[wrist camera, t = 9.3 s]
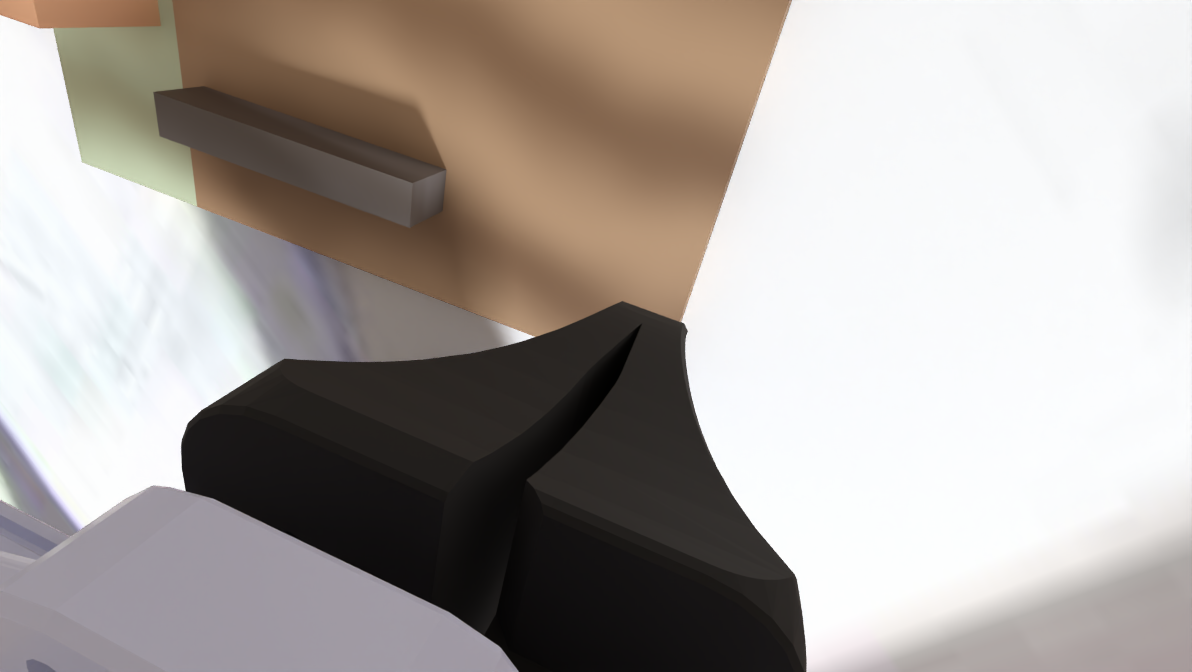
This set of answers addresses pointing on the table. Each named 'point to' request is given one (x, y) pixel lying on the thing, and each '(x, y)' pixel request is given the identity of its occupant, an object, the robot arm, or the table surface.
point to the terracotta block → (82, 13)
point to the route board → (444, 135)
